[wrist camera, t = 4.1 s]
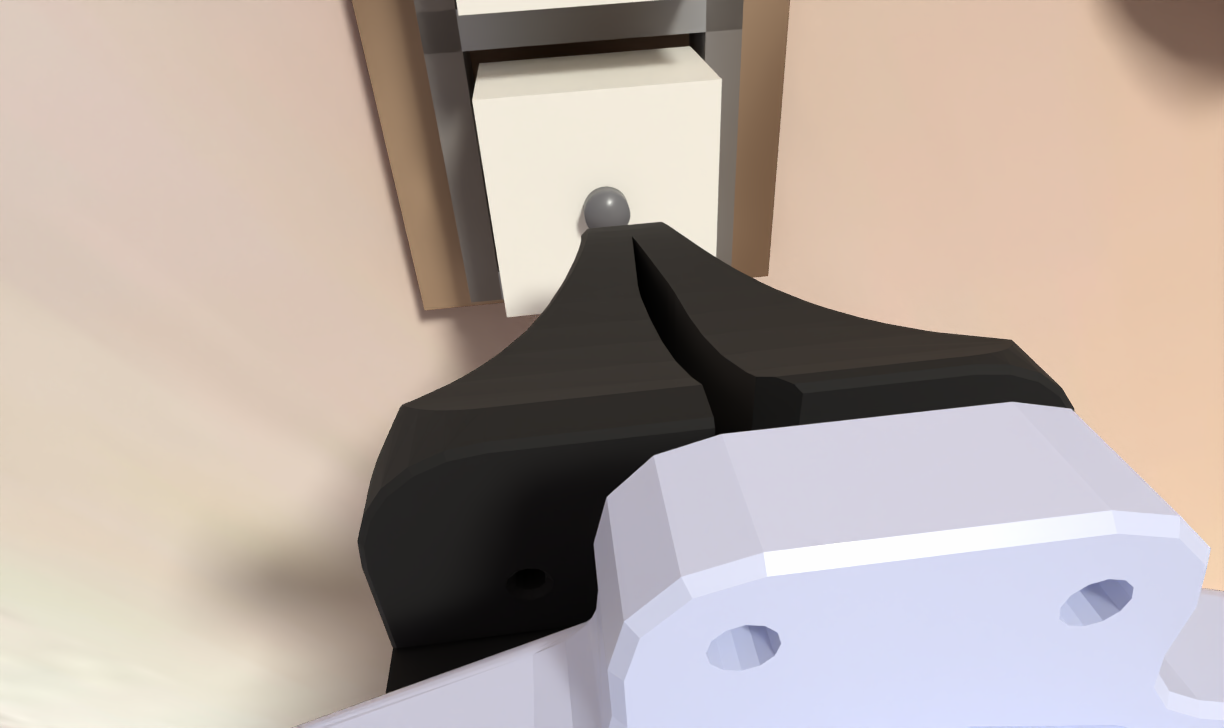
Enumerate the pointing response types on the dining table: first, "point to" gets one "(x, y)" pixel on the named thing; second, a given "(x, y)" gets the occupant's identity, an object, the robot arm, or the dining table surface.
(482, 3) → the tile two
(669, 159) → the tile one
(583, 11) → the board
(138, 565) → the dining table surface
